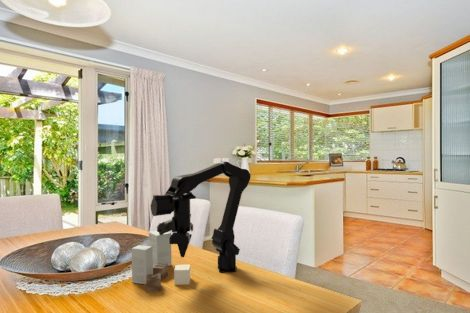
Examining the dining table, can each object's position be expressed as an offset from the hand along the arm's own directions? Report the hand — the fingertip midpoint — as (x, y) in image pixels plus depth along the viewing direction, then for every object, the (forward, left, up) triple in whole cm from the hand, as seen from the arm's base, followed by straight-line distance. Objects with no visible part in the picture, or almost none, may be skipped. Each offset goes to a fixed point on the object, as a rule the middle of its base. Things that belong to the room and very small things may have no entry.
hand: (182, 257), depth 105 cm
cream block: (0, 0, -9) cm, 9 cm away
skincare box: (+14, -1, -9) cm, 17 cm away
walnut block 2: (+9, +5, -9) cm, 13 cm away
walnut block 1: (+9, -5, -9) cm, 13 cm away
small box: (+11, -17, -9) cm, 22 cm away
